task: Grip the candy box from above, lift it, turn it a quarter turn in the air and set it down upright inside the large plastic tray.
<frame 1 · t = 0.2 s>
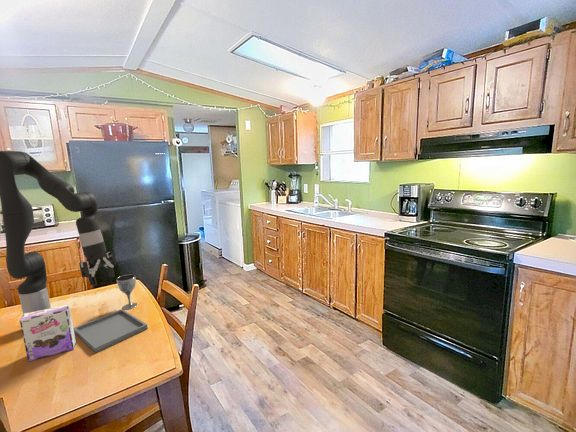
hand: (103, 281, 119), 22 cm above the table, fingers open, 8 cm apart
candy box: (53, 352, 112), on the table
tray: (110, 330, 124), on the table
wine glass: (130, 306, 146), on the table
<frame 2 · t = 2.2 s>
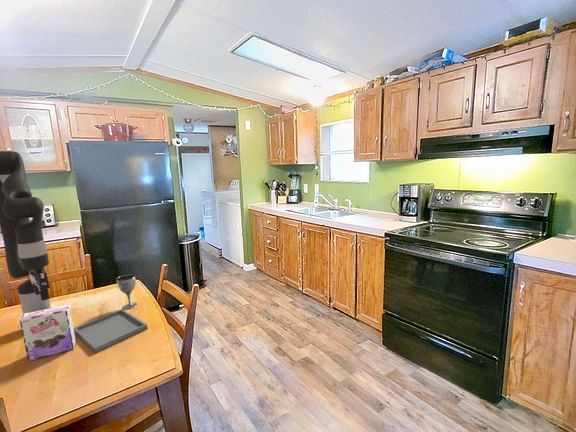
hand: (42, 296, 107), 22 cm above the table, fingers open, 8 cm apart
nothing on the table moved.
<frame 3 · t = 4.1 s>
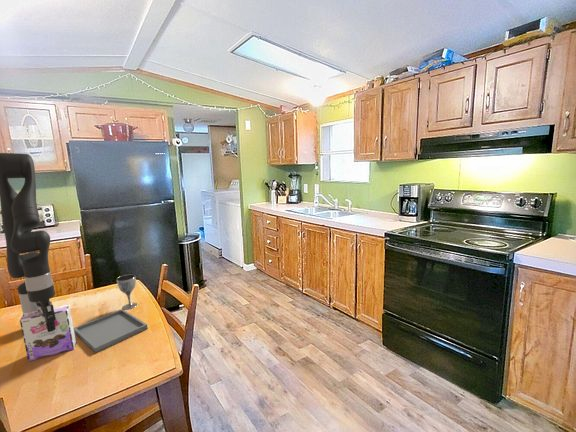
hand: (48, 327, 110), 10 cm above the table, fingers closed on candy box, 7 cm apart
candy box: (53, 351, 112), on the table, touching gripper
everything else where it was.
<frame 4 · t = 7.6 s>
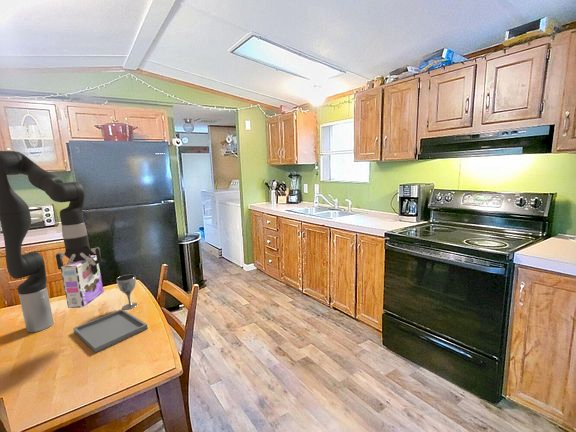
hand: (82, 276, 115), 26 cm above the table, fingers closed on candy box, 7 cm apart
candy box: (87, 300, 117), point 16 cm above the table, touching gripper
everything else where it was.
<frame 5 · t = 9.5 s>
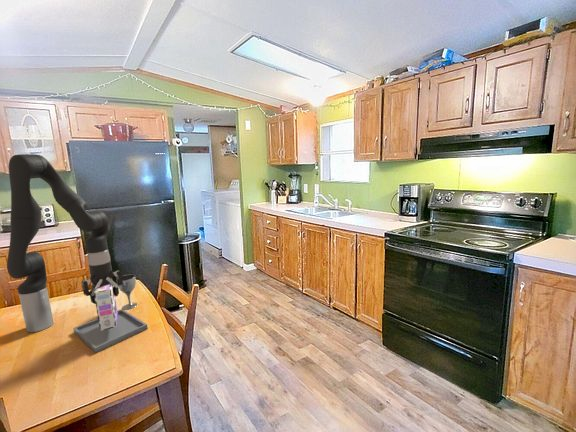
hand: (105, 299, 122), 14 cm above the table, fingers closed on candy box, 7 cm apart
candy box: (109, 322, 124), point 4 cm above the table, touching gripper
everything else where it was.
when the fingers open (12 cm above the table, at t = 11.0 s): candy box drops 1 cm, resting on tray.
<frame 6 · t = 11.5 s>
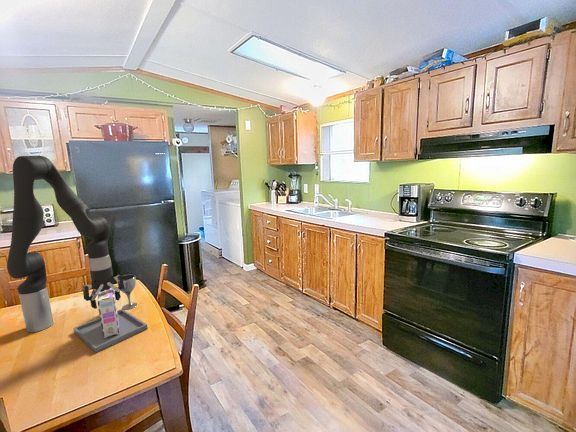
hand: (106, 303, 122), 12 cm above the table, fingers open, 8 cm apart
candy box: (111, 329, 124), resting on tray
everything else where it was.
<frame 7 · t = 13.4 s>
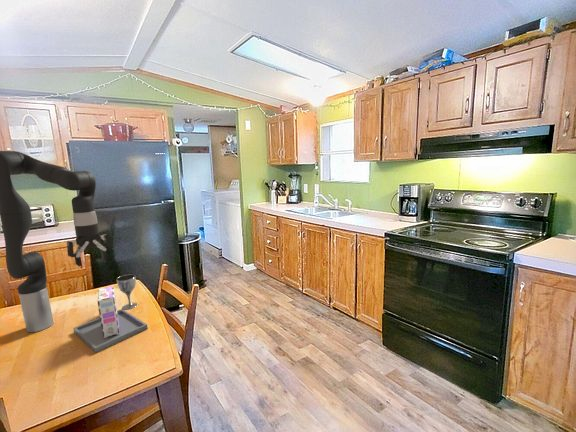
hand: (92, 262, 118), 30 cm above the table, fingers open, 8 cm apart
nothing on the table moved.
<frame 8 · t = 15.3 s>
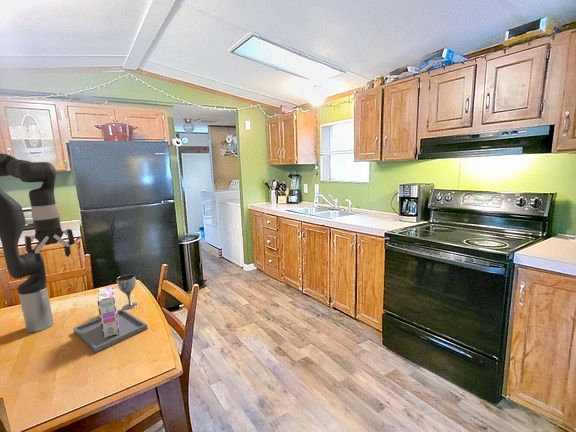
hand: (54, 259, 112), 34 cm above the table, fingers open, 8 cm apart
nothing on the table moved.
at the end: candy box inside the target area on the tray (0.3 cm from its centre), point 0.4 cm above the tray's base; candy box tilted 0°; the gripper is holding nothing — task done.
